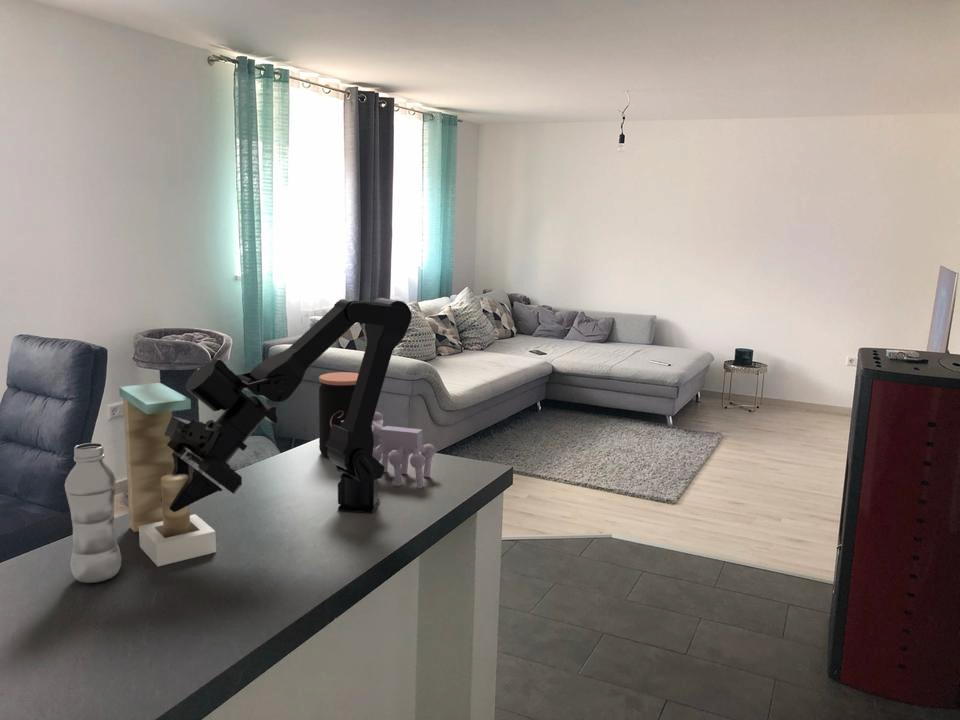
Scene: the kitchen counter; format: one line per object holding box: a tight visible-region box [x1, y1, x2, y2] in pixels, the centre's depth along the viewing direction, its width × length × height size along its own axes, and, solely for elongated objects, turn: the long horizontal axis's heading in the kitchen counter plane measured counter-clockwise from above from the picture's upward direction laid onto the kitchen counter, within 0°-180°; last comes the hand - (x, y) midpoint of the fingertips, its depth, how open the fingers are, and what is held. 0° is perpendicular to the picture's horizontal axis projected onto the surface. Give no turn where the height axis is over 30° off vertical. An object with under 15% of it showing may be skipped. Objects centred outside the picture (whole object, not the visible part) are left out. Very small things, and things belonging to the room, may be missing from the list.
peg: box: [161, 474, 191, 538], centre depth 123 cm, size 4×4×11 cm
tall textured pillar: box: [118, 382, 192, 533], centre depth 127 cm, size 8×15×24 cm, turn 39°
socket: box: [138, 513, 217, 567], centre depth 124 cm, size 9×9×4 cm
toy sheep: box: [341, 411, 436, 489], centre depth 161 cm, size 20×11×14 cm, turn 74°
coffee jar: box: [318, 371, 359, 459], centre depth 176 cm, size 11×11×18 cm
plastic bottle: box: [64, 442, 123, 584], centre depth 112 cm, size 6×7×20 cm
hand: (167, 506), depth 122 cm, fingers closed on peg, 4 cm apart
